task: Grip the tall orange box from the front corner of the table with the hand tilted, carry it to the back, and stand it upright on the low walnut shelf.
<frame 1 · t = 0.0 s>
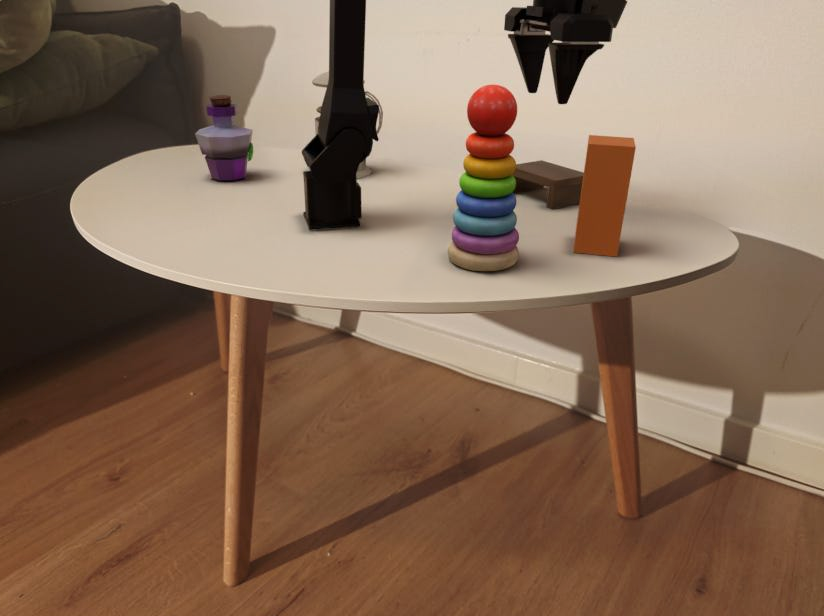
hand: (546, 98, 90), 15 cm above the table, tool pointing down, fingers open, 9 cm apart
stacking toy: (482, 262, 79), on the table
walnut shelf: (545, 197, 103), on the table
orange box: (595, 247, 84), on the table
potion bottle: (229, 178, 108), on the table
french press: (346, 173, 113), on the table
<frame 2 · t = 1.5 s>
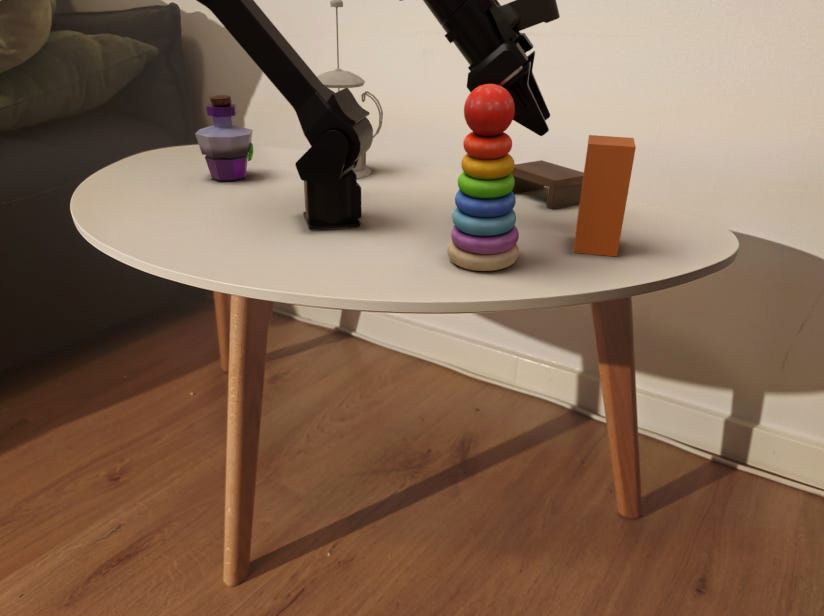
hand: (546, 125, 80), 13 cm above the table, tool tilted 40°, fingers open, 9 cm apart
stacking toy: (482, 260, 79), on the table, touching gripper
everything else where it was.
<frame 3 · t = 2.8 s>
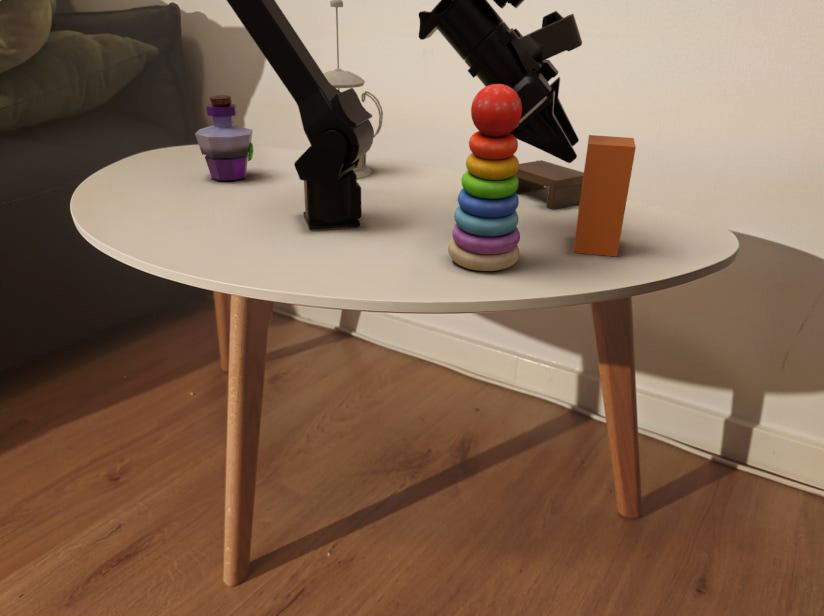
hand: (574, 151, 79), 11 cm above the table, tool tilted 45°, fingers open, 8 cm apart
nothing on the table moved.
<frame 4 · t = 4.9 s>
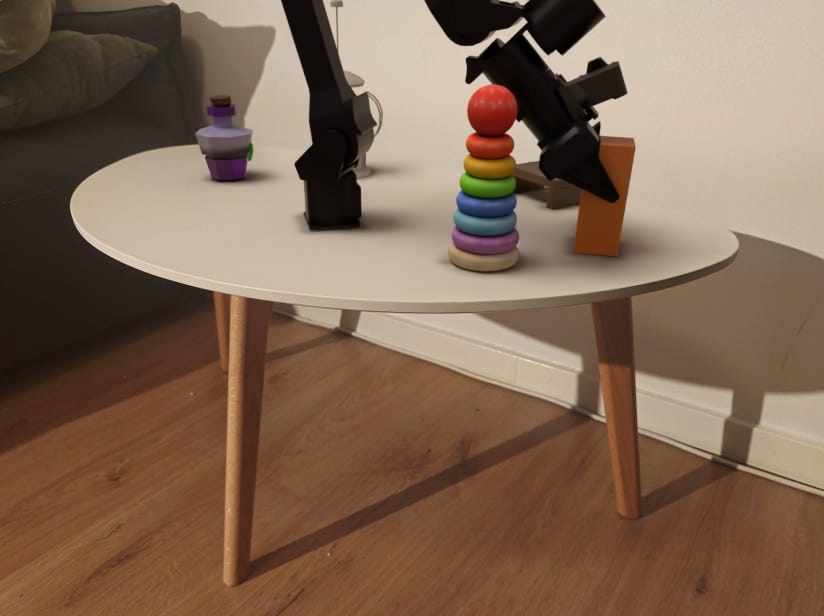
hand: (615, 194, 80), 7 cm above the table, tool tilted 45°, fingers closed on orange box, 5 cm apart
stacking toy: (482, 262, 79), on the table
orange box: (595, 247, 84), on the table, touching gripper
everything else where it was.
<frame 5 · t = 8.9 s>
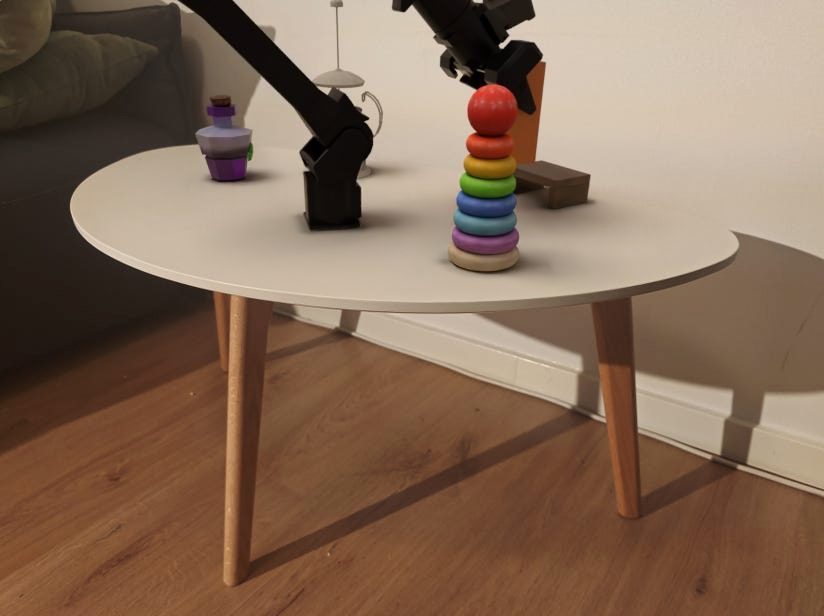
hand: (523, 108, 92), 13 cm above the table, tool tilted 45°, fingers closed on orange box, 5 cm apart
orange box: (509, 160, 95), point 6 cm above the table, touching gripper
everything else where it was.
when the fingers open (11 cm above the table, at t = 12.9 s): orange box stays where it is, resting on walnut shelf.
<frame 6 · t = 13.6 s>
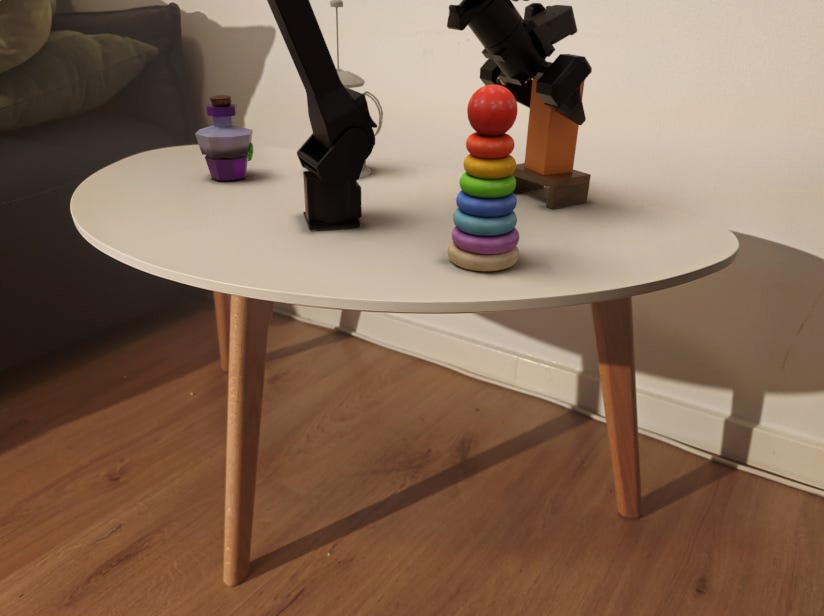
hand: (562, 116, 98), 11 cm above the table, tool tilted 45°, fingers open, 9 cm apart
orange box: (548, 169, 101), point 4 cm above the table, touching walnut shelf
everything else where it was.
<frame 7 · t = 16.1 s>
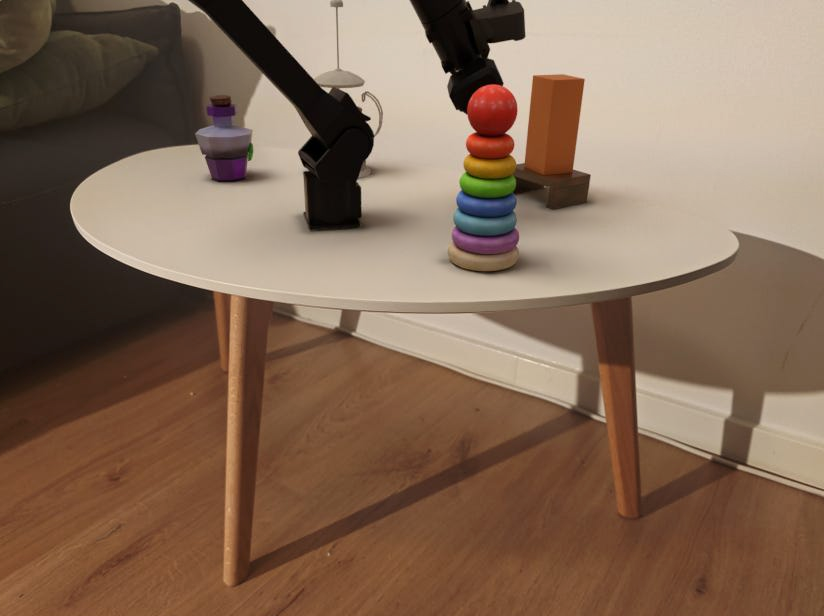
hand: (496, 120, 92), 12 cm above the table, tool tilted 35°, fingers open, 9 cm apart
nothing on the table moved.
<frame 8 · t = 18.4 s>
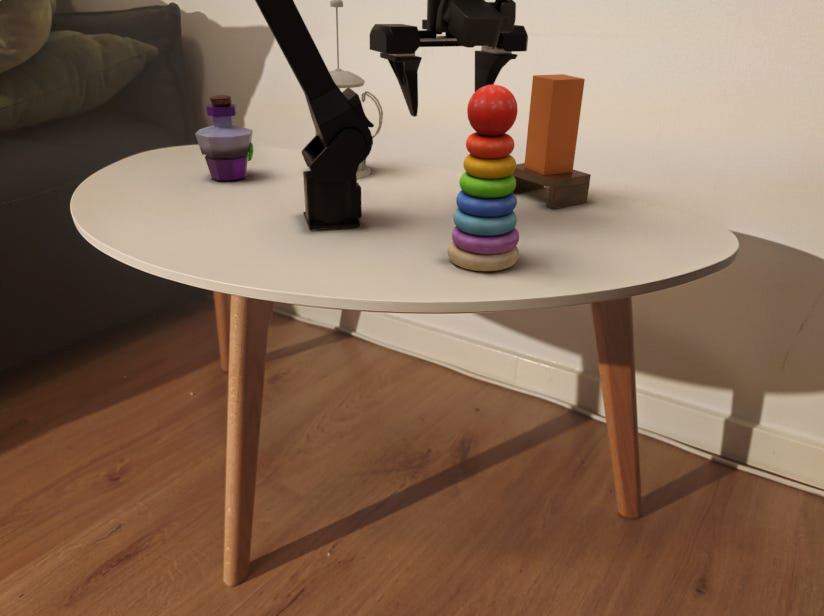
hand: (447, 114, 87), 13 cm above the table, tool pointing down, fingers open, 9 cm apart
nothing on the table moved.
at the end: orange box inside the target area on the walnut shelf (0.0 cm from its centre), point 4.0 cm above the walnut shelf's base; orange box tilted 0° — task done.
